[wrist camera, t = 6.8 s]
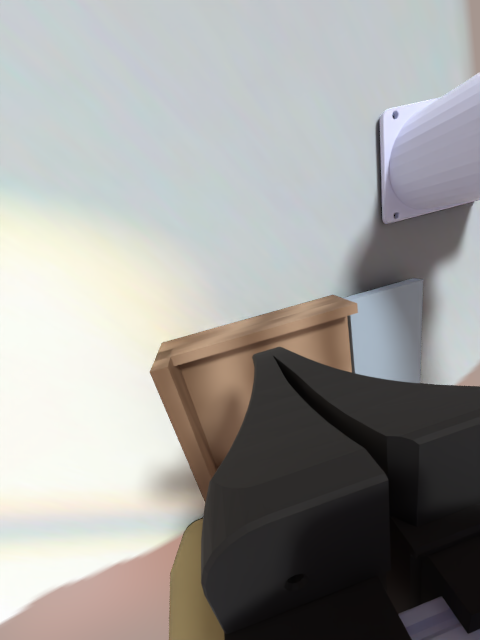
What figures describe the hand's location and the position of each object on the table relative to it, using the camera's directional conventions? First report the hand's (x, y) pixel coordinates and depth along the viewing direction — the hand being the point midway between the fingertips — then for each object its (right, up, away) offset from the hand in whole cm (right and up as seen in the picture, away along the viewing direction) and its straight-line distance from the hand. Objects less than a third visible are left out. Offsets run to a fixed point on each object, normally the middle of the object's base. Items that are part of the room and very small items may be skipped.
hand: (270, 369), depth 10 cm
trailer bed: (+1, -4, +12) cm, 13 cm away
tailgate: (+9, -2, +11) cm, 15 cm away
